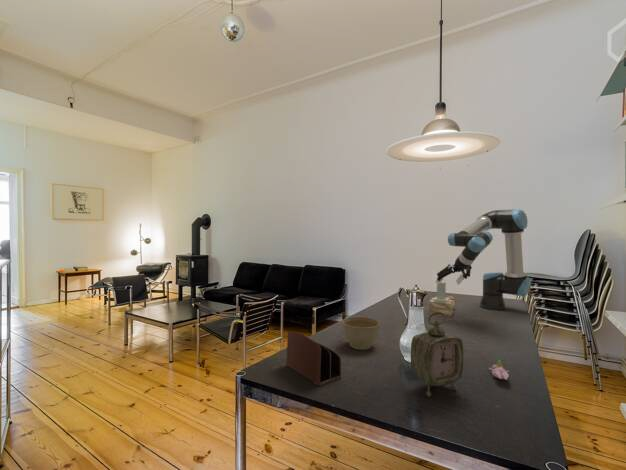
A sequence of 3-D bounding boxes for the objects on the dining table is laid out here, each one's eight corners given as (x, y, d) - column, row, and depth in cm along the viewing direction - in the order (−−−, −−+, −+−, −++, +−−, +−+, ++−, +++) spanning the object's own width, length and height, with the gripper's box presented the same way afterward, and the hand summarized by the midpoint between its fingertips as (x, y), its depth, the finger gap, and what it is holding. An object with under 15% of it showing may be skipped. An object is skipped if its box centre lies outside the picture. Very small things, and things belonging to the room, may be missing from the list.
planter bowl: (334, 346, 140) (335, 321, 139) (356, 337, 151) (356, 314, 151) (365, 356, 129) (366, 329, 128) (386, 346, 140) (386, 321, 140)
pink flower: (487, 371, 119) (492, 382, 105) (487, 355, 120) (492, 363, 106) (506, 374, 116) (514, 386, 103) (506, 357, 117) (514, 367, 103)
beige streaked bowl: (432, 310, 203) (432, 297, 203) (452, 312, 198) (452, 299, 197) (429, 314, 193) (429, 301, 193) (450, 317, 187) (450, 303, 187)
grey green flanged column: (435, 303, 201) (435, 280, 200) (448, 304, 197) (449, 282, 196) (433, 305, 194) (433, 282, 193) (447, 307, 190) (447, 283, 189)
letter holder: (318, 387, 104) (319, 344, 104) (286, 366, 120) (286, 328, 119) (341, 378, 110) (341, 338, 110) (307, 359, 126) (307, 324, 125)
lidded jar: (438, 310, 203) (438, 295, 203) (435, 306, 213) (435, 292, 213) (456, 311, 201) (456, 296, 201) (452, 307, 212) (452, 293, 211)
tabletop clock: (427, 400, 96) (428, 317, 95) (407, 387, 104) (408, 310, 103) (462, 391, 101) (464, 313, 101) (441, 378, 110) (442, 306, 109)
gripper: (481, 254, 179) (462, 277, 194) (441, 255, 174) (425, 278, 189) (488, 265, 174) (468, 287, 189) (447, 265, 169) (430, 289, 184)
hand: (447, 283), depth 189 cm, fingers open, 13 cm apart
